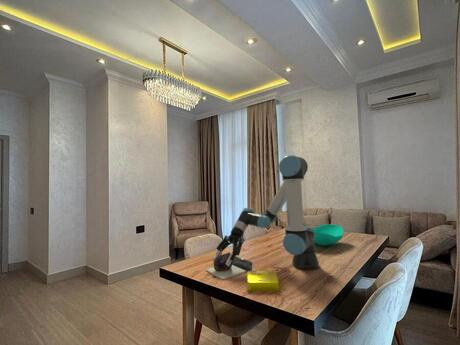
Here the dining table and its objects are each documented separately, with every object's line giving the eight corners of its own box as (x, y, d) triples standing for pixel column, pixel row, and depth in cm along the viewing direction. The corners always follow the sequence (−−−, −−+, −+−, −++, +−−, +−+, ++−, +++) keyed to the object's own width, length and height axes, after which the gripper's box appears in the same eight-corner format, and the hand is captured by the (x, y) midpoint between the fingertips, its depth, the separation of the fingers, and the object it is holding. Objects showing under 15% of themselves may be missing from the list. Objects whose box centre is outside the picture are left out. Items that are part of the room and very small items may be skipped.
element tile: (247, 292, 107) (246, 281, 108) (246, 279, 122) (246, 269, 123) (280, 292, 106) (279, 281, 107) (275, 279, 121) (275, 269, 122)
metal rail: (252, 270, 133) (252, 261, 133) (249, 271, 132) (249, 262, 132) (234, 263, 146) (233, 254, 147) (231, 263, 145) (231, 255, 145)
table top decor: (320, 237, 208) (319, 222, 209) (352, 243, 187) (351, 226, 188) (293, 245, 183) (293, 228, 184) (327, 253, 162) (326, 234, 163)
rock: (212, 271, 134) (223, 276, 126) (210, 257, 133) (220, 260, 126) (228, 263, 141) (239, 267, 133) (225, 249, 141) (236, 252, 133)
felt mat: (246, 272, 130) (246, 270, 131) (222, 279, 121) (222, 278, 121) (227, 264, 144) (227, 263, 144) (205, 270, 134) (205, 269, 134)
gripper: (255, 236, 138) (238, 271, 125) (228, 231, 152) (211, 262, 140) (249, 228, 134) (231, 263, 122) (223, 224, 149) (204, 256, 136)
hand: (221, 263), depth 131 cm, fingers closed on rock, 9 cm apart
